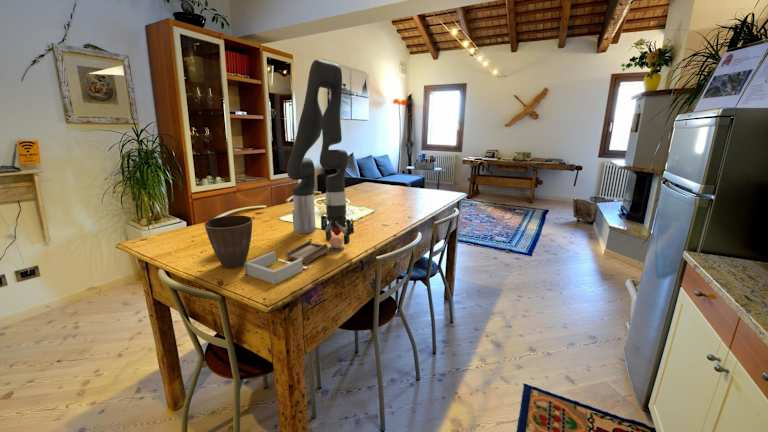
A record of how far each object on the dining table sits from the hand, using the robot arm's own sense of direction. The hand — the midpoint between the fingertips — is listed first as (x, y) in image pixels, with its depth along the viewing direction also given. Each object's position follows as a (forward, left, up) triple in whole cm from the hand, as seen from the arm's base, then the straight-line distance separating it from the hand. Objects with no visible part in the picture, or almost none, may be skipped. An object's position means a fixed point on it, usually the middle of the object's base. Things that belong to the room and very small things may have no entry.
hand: (337, 242), depth 133 cm
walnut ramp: (-5, -12, -3) cm, 13 cm away
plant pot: (-22, -31, -3) cm, 38 cm away
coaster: (-1, 0, -3) cm, 3 cm away
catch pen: (-5, -28, -3) cm, 29 cm away
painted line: (-5, -20, -3) cm, 21 cm away
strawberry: (-11, +13, -3) cm, 17 cm away
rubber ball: (-1, 0, 0) cm, 1 cm away
